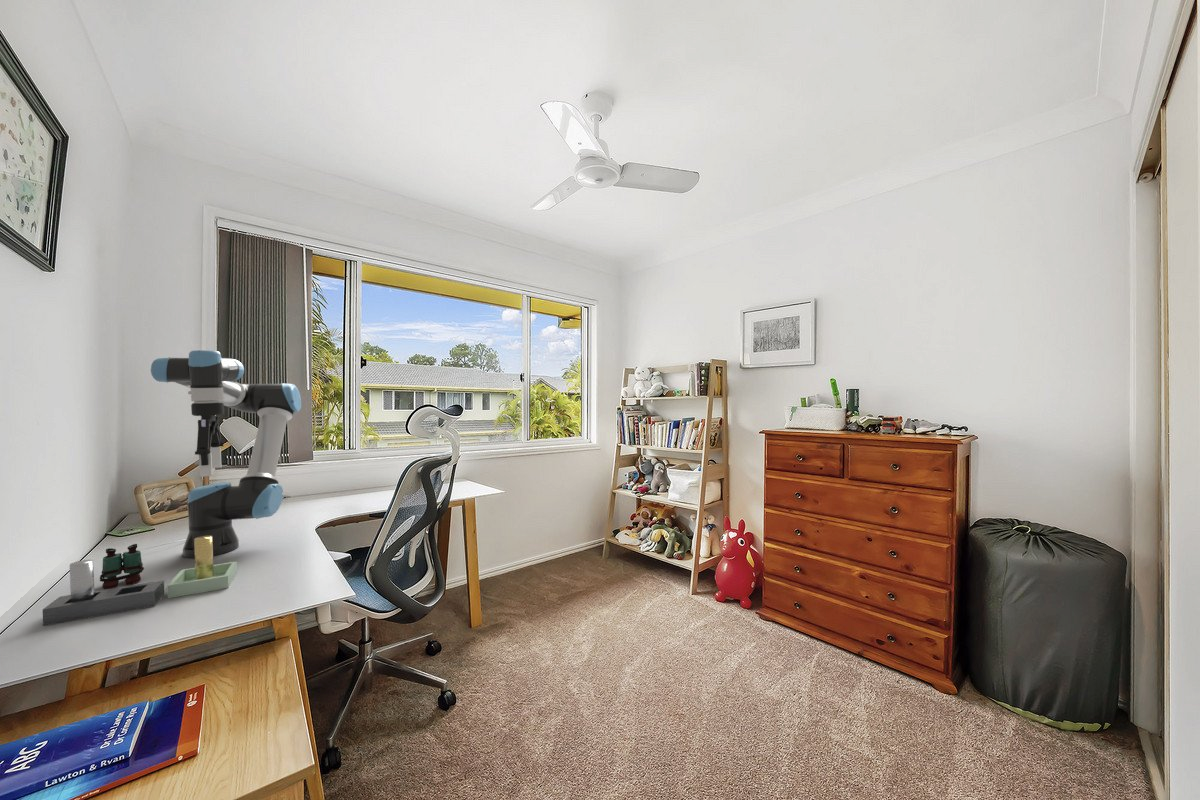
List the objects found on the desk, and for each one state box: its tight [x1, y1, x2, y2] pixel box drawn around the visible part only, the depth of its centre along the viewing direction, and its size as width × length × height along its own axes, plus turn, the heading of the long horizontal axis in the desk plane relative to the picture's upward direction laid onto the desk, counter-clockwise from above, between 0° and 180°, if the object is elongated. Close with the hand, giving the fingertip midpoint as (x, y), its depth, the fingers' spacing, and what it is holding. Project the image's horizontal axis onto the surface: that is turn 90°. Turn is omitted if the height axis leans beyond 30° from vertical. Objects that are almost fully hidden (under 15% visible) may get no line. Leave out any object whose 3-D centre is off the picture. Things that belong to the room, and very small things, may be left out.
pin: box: [69, 559, 95, 603], centre depth 118 cm, size 4×4×13 cm
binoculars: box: [99, 543, 145, 590], centre depth 136 cm, size 9×11×10 cm
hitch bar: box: [42, 579, 166, 627], centre depth 120 cm, size 8×20×4 cm, turn 119°
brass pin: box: [194, 536, 214, 580], centre depth 135 cm, size 4×4×13 cm
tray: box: [166, 561, 238, 599], centre depth 135 cm, size 13×13×3 cm
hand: (211, 471), depth 142 cm, fingers open, 13 cm apart
